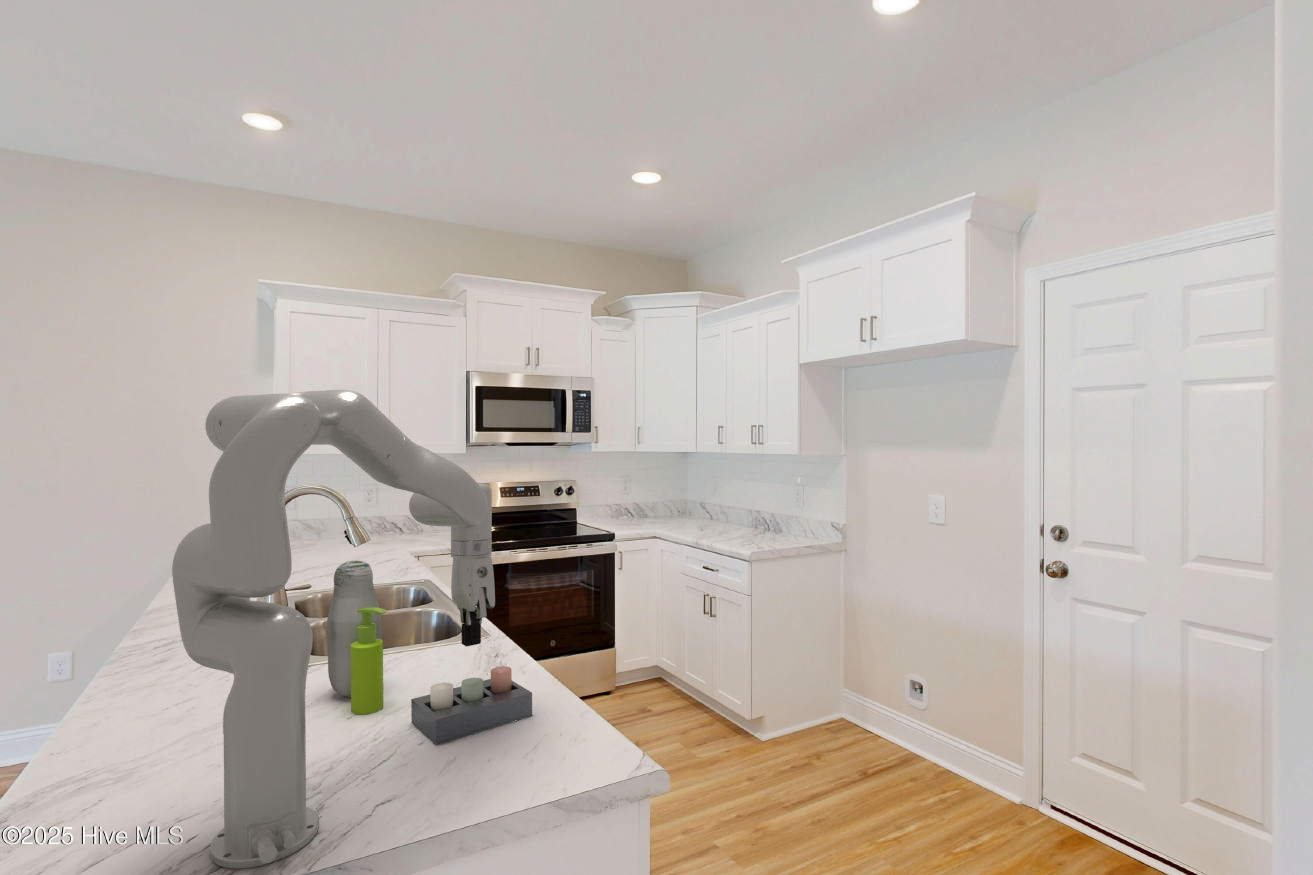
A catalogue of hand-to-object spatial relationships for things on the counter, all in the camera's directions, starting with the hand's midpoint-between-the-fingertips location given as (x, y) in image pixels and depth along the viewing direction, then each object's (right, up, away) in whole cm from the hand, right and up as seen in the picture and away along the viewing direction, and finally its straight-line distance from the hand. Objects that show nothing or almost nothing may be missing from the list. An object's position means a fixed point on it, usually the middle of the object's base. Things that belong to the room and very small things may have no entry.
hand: (471, 644), depth 127 cm
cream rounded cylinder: (-4, -12, -4) cm, 13 cm away
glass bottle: (-28, -15, +13) cm, 34 cm away
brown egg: (+5, -11, +4) cm, 13 cm away
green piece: (0, -12, 0) cm, 12 cm away
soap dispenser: (-22, -15, +5) cm, 27 cm away
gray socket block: (0, -15, 0) cm, 15 cm away
